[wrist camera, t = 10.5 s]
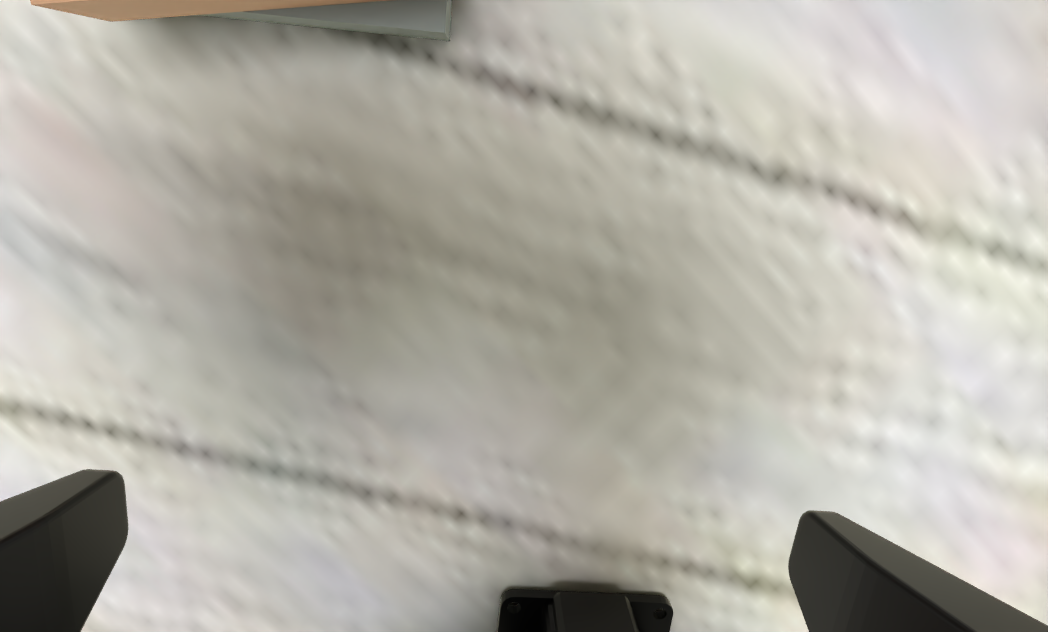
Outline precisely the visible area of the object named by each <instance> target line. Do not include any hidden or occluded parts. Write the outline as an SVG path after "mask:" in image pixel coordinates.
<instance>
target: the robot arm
mask: <svg viewBox="0 0 1048 632" xmlns="http://www.w3.org/2000/svg"><path fill="white" fill-rule="evenodd" d="M127 535H128V517H127V506H126V495H125V484H124V480H123V477H122V475H121V474H119V473H118V472H117V471H110V470H92V469H87V470H82V471H79V472H76V473H73V474H71V475H68V476H66V477H63V478H60V479H58V480H55V481H53V482H50V483H47V484H45V485H42V486H40V487H37V488H34V489H32V490H29V491H27V492H24V493H21V494H19V495H16V496H14V497H11V498H8V499H6V500H3V501H1V502H0V632H81V630H82V628H83V626H84V624H85V622H86V620H87V618H88V616H89V614H90V612H91V610H92V608H93V606H94V605H95V603H96V601H97V599H98V597H99V595H100V593H101V591H102V589H103V587H104V585H105V583H106V581H107V579H108V577H109V575H110V573H111V571H112V569H113V568H114V566H115V564H116V562H117V560H118V558H119V556H120V554H121V552H122V550H123V548H124V546H125V543H126V540H127ZM788 568H789V576H790V580H791V583H792V586H793V588H794V591H795V594H796V597H797V599H798V602H799V605H800V608H801V610H802V613H803V616H804V619H805V621H806V624H807V627H808V630H809V632H1048V626H1047V625H1045V624H1044V623H1042V622H1040V621H1038V620H1036V619H1034V618H1032V617H1030V616H1029V615H1027V614H1025V613H1023V612H1021V611H1019V610H1017V609H1016V608H1014V607H1012V606H1010V605H1008V604H1006V603H1004V602H1002V601H1001V600H999V599H997V598H995V597H993V596H991V595H989V594H987V593H986V592H984V591H982V590H980V589H978V588H976V587H974V586H973V585H971V584H969V583H967V582H965V581H963V580H961V579H959V578H958V577H956V576H954V575H952V574H950V573H948V572H946V571H945V570H943V569H941V568H939V567H937V566H935V565H933V564H931V563H930V562H928V561H926V560H924V559H922V558H920V557H918V556H916V555H915V554H913V553H911V552H909V551H907V550H905V549H903V548H902V547H900V546H898V545H896V544H894V543H892V542H890V541H888V540H887V539H885V538H883V537H881V536H879V535H877V534H875V533H873V532H872V531H870V530H868V529H866V528H864V527H862V526H860V525H859V524H857V523H855V522H853V521H851V520H849V519H847V518H845V517H844V516H842V515H840V514H838V513H835V512H829V511H807V512H805V513H804V514H803V515H802V516H801V518H800V520H799V524H798V527H797V531H796V535H795V539H794V543H793V546H792V550H791V554H790V558H789V566H788ZM512 602H516V603H519V604H517V605H515V606H512V605H509V604H510V603H512ZM660 608H662V610H661V611H658V612H655V610H657V609H660ZM672 617H673V609H672V607H671V604H670V602H669V600H668V599H667V598H666V597H664V596H660V595H638V594H615V593H592V592H570V591H547V590H524V589H511V590H508V591H506V592H505V593H504V594H503V595H502V596H501V599H500V607H499V616H498V625H497V632H669V631H670V626H671V622H672Z"/></svg>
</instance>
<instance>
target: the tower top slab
mask: <svg viewBox="0 0 1048 632" xmlns="http://www.w3.org/2000/svg"><path fill="white" fill-rule="evenodd" d="M30 1H31V5H35V6H40V7H45V8H49V9H54V10H59V11H63V12H68V13H73V14H78V15H82V16H87V17H92V18H96V19H101V20H106V21H125V20H138V19H151V18H164V17H177V16H191V15H204V14H217V13H230V12H244V11H257V10H270V9H283V8H297V7H310V6H323V5H336V4H349V3H363V2H376V1H389V0H30Z"/></svg>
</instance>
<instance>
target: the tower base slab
mask: <svg viewBox="0 0 1048 632" xmlns="http://www.w3.org/2000/svg"><path fill="white" fill-rule="evenodd" d="M451 10H452V0H389V1H376V2H363V3H349V4H336V5H323V6H310V7H297V8H283V9H270V10H257V11H244V12H230V13H217V14H204V15H200V16H210V17H220V18H230V19H239V20H249V21H259V22H269V23H278V24H288V25H298V26H308V27H318V28H327V29H337V30H347V31H357V32H367V33H376V34H386V35H396V36H406V37H416V38H425V39H435V40H445V41H450V29H451Z"/></svg>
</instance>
